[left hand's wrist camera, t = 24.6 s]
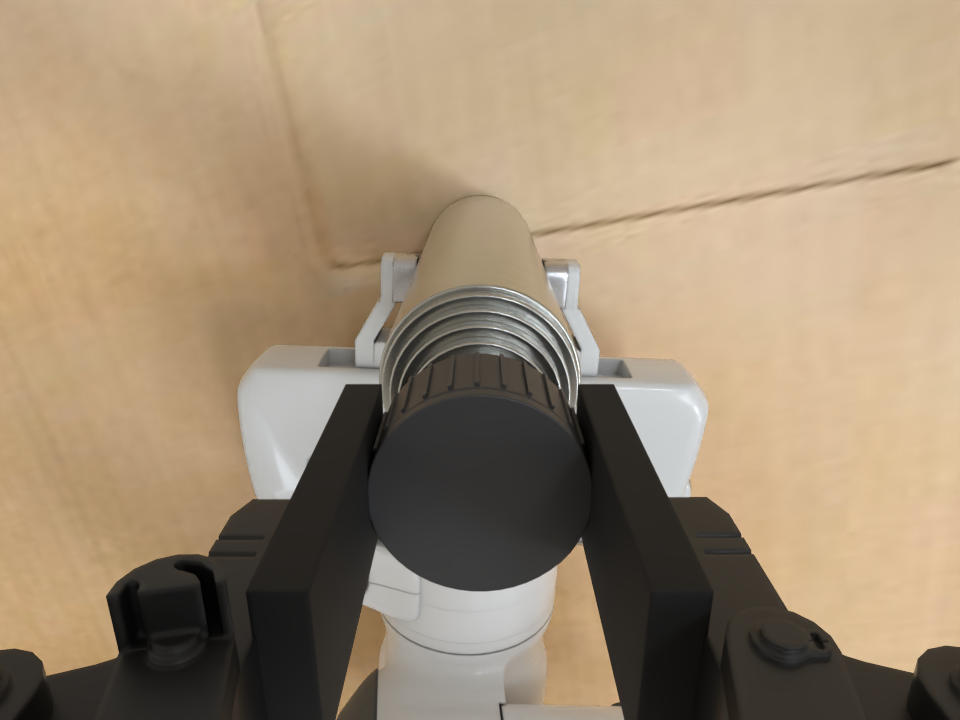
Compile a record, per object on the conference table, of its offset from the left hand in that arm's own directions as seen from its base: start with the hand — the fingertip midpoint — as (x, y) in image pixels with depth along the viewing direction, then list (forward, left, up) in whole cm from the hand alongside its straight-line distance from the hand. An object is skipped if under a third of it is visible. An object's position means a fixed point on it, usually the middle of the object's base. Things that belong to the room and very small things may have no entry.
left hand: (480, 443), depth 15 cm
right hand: (-1, 0, -15) cm, 15 cm away
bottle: (0, 0, -22) cm, 22 cm away
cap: (0, 0, +2) cm, 2 cm away
